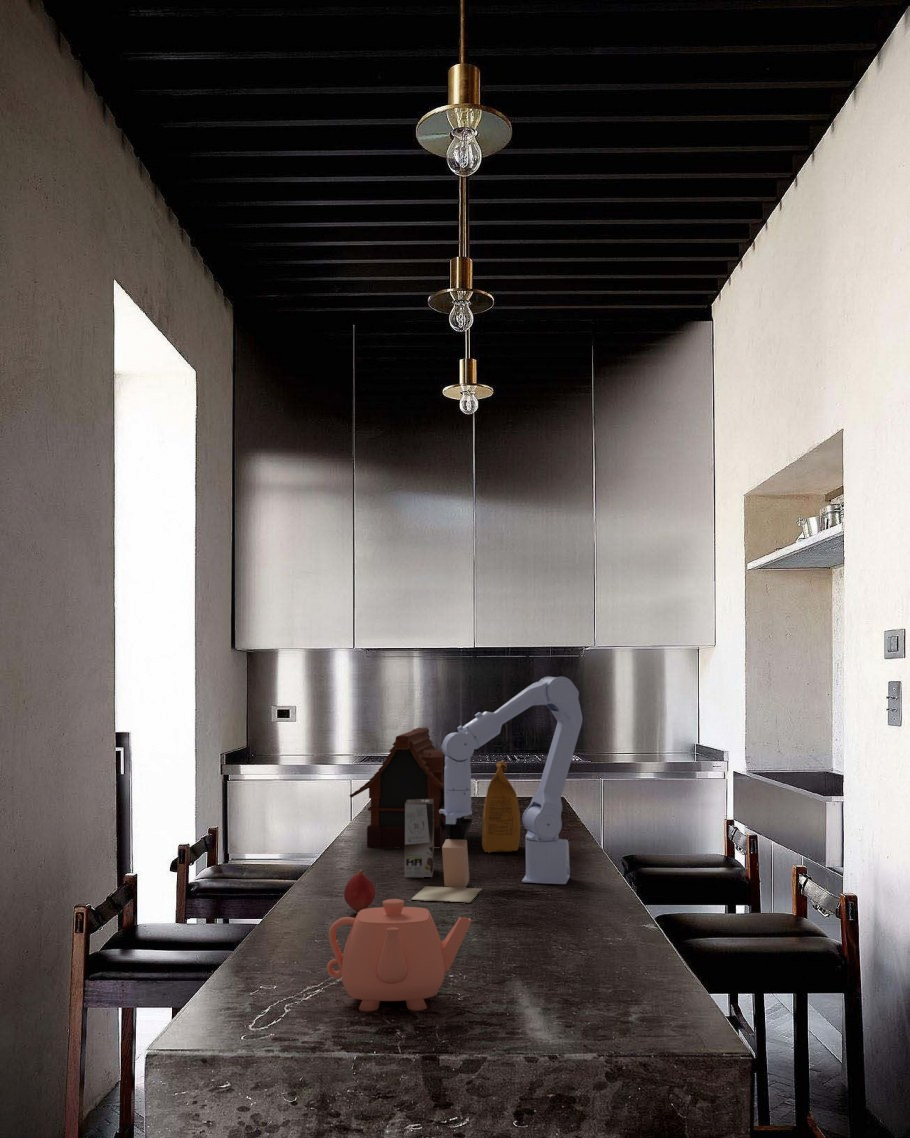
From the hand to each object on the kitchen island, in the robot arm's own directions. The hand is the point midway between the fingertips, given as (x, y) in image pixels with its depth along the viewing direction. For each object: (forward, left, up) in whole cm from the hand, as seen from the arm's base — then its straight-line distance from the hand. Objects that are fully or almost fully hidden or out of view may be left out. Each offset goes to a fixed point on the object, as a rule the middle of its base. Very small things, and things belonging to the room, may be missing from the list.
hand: (458, 854), depth 216 cm
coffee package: (-2, -43, -7) cm, 43 cm away
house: (+25, -56, -7) cm, 62 cm away
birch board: (0, +11, -6) cm, 12 cm away
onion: (+13, +28, -7) cm, 32 cm away
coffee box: (+11, -10, -7) cm, 16 cm away
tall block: (0, +1, -6) cm, 6 cm away
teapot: (-8, +76, -7) cm, 77 cm away
